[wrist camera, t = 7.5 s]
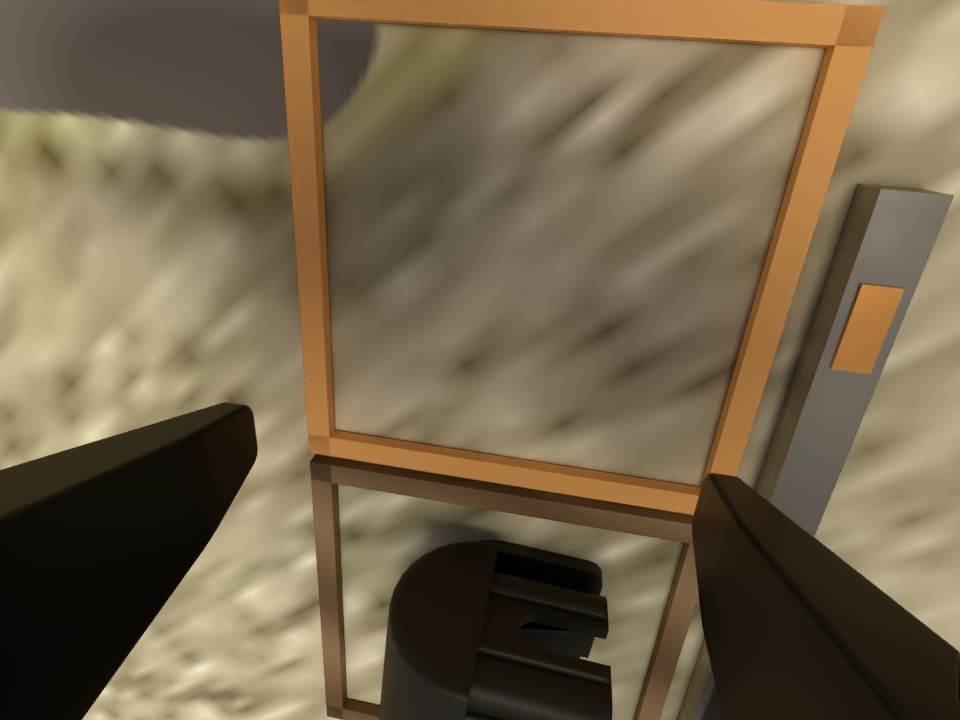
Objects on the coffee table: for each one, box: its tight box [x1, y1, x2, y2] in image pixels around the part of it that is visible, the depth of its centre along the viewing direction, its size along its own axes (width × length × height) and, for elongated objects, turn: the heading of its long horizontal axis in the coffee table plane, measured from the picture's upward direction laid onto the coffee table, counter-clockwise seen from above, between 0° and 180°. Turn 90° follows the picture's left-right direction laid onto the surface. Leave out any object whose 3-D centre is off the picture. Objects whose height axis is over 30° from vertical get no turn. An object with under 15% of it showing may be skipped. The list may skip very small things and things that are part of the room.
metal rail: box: [677, 184, 954, 720], centre depth 18 cm, size 22×2×1 cm, turn 176°
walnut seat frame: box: [310, 454, 699, 720], centre depth 23 cm, size 15×15×1 cm
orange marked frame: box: [279, 0, 885, 515], centre depth 17 cm, size 15×15×1 cm
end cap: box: [379, 540, 612, 720], centre depth 20 cm, size 10×7×7 cm
